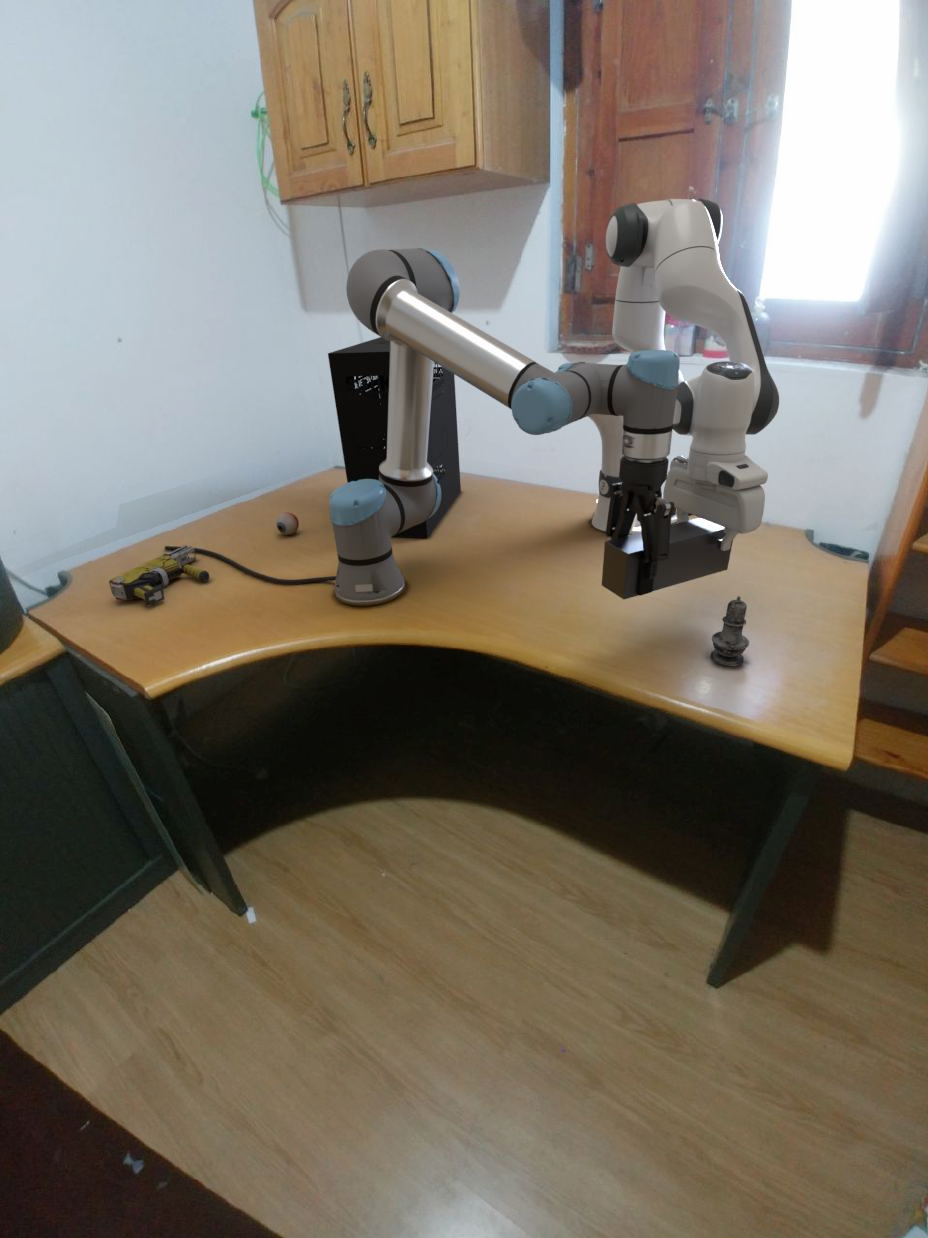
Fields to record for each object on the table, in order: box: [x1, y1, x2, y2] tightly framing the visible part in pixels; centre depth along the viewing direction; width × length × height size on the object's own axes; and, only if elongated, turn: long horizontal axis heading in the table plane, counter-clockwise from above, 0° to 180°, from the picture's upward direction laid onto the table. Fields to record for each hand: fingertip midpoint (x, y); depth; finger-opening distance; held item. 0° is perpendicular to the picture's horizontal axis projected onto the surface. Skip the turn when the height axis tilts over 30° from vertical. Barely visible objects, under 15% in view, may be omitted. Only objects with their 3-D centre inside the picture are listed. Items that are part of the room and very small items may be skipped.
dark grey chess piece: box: [710, 595, 750, 667], centre depth 101 cm, size 6×6×12 cm
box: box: [601, 517, 734, 601], centre depth 109 cm, size 24×6×9 cm, turn 115°
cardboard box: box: [327, 336, 462, 539], centre depth 164 cm, size 38×20×45 cm, turn 167°
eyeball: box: [275, 511, 300, 536], centre depth 163 cm, size 6×6×6 cm
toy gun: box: [108, 544, 210, 607], centre depth 141 cm, size 5×24×15 cm
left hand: (631, 584), depth 108 cm, fingers closed on box, 6 cm apart
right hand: (703, 540), depth 110 cm, fingers open, 8 cm apart
